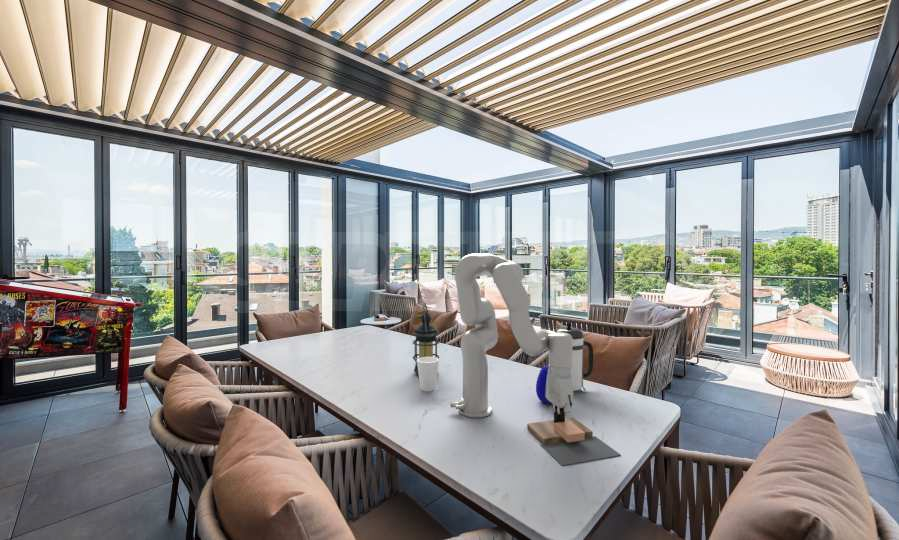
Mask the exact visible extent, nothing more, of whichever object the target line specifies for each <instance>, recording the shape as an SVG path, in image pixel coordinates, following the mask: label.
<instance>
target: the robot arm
mask: <svg viewBox="0 0 899 540" xmlns="http://www.w3.org/2000/svg"><path fill="white" fill-rule="evenodd" d="M483 276H488V277H491V278H492V280H493V282H494V284H495V285H496V288H497V289H498V292H499V293H500V295H501V298H502V300H503V302H504V303H505V306H506V308H507V309H508V317H509V322H510V323H509V324H510V329H511V331H512V334H513V336H514V337H515V340H516V342H517V343H518V345H519V347H520V349H521V350H522V352H524V353H525V354H526V355H528V356H532V357H535V356H538V355H540V354H542V353H543V352H547V351H548V366H549V371H548V374H547V380H546V398H547V400H549V401H550V402H551V404H552V410H553V420H554V423H558V422H565V418H566V414H567V413H570V412H571V408H572V406H573V405H574V391H573V383H572V377H571V376H572V342H573V341H572V336H571V335H570V334H568V333H563V332H555V331H552V330H548V329H545V328H537V329H535V328H534V326H533V324H532V321H531V318H530V311H529V310H530V305H531V297H530V295H529V293H528V292H527V290H526V288H525V286H524V285H523V283H522V280H523V278H524V276H525V275H524V270H523V267H522V266H521V265H520V264H518V263H517V262H514V261H512V260H508V259H506V258H504V257H501V256H498V255H495V254H491V253H485V252H484V253H483V252H482V253H480V252H479V253H469V254H467V255H464V256H463V257H462V258H460V260H459V261H457V263H456V266H455V268H454V280H455V285H456V291H457V299H458V305H459V306H458V307H459V308H458V309H459V315H460V318H461V321H462V323H463V324H464V325H467V326H474V328H471V329H469V330H467V331H465V332H464V333H463V335H462V337H461V339H460V350H461V355H462V397H460V400H458V401H453V402H450V403H449V405H450V408H455V410H458V412H459V414H461V415H462V416H464V417H468V418H472V419H473V418H474V419H475V418H477V419H480V418H485V417H488V416H489V415H491V414H492V411H493V408H492V407H491V405H489V403H488V401H489V400H488V399H489V363H488V359H487V353H486V352H487V351H488V350H490V349H493V348H494V347H495V346H497V345H496V344H497V343H498V339H499V333H498V327H497V325H498V324H497V319H496V310H495V307H494V305H493V304H492V302H491V301H490V300H488V299H487V298H484V297H482V296H481V290H480V286H479V284H478V283H479V282H478V281H477V279H476V278H477V277H483Z"/></svg>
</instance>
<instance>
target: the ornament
mask: <svg viewBox="0 0 899 540" xmlns="http://www.w3.org/2000/svg"><path fill="white" fill-rule="evenodd" d="M548 371H549V365H544V366H542V368H541V369H540V371H539V373H538V376H537V379H536V384H535V393H536V396H537V398H538V400H539V401H540V402H542V403H544V404H549V405H551V404H552V403H551V402H550V401H549V400H547V398H546V380H547V374H548Z"/></svg>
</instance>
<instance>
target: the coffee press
mask: <svg viewBox="0 0 899 540" xmlns="http://www.w3.org/2000/svg"><path fill="white" fill-rule="evenodd" d="M572 326H573V325H572V322H570V321H569V322H566V325H565V326H563V327H557V328H556V329H555V330H554V332H563V333H568V334H570V335H571V336H572V341H573V342H572V376H571V377H572V383H573V392H575V391H580V392H581V393H583V394H585V393H586V388H585V387H584V378H587V377H589V376H590V375H591V374H592V372H593V369H594V348H593V345H592V344H591V342H589V341H585V340H584V339H585V334H584V332H583V331H582V330H581V329H579V328H577V327H572ZM585 346H586V347H587V348H588V363H587V370H586V371H585V372H584V356H585V355H584V352H585V351H584V347H585ZM582 389H583V390H582Z"/></svg>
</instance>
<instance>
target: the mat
mask: <svg viewBox="0 0 899 540" xmlns="http://www.w3.org/2000/svg"><path fill="white" fill-rule="evenodd" d="M540 446H541V447H542V448H543V449H544V450H545V451H546V452H547V453H548V454H549V455H550V456H551V457H552V458H553V459H554V460H555V461H557V463H558V464H560V465H561V467H565V466H571V465H577V464H582V463H588V462H593V461H594V462H595V461H600V460H604V459H610V458H616V457H621V453H619V452H618V451H616V449H614V448H612V447H610V445H608V444H607V443H606V442H604V441H603V440H601V439H600V438H598V437H597V436H596V435H595V436H594V435H593V437H586V438H585V440H581V441H574V442H567V441H561V442H554V443H548V444H542V443H541V444H540Z"/></svg>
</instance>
